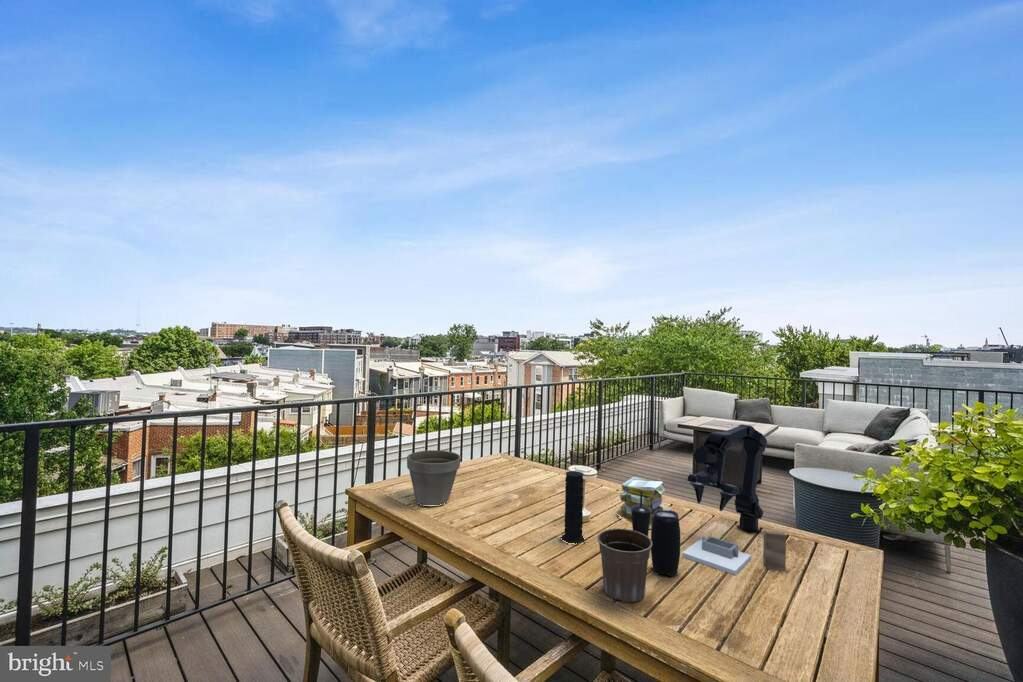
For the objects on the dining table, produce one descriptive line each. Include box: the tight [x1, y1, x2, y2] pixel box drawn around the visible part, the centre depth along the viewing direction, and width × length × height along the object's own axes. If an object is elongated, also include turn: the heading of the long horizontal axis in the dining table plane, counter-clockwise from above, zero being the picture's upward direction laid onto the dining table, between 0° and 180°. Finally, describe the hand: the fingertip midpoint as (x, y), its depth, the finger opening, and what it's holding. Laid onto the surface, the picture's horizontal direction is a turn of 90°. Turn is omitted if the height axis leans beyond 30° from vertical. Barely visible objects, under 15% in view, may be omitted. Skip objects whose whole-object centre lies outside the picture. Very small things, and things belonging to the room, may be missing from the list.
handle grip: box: [560, 470, 585, 544], centre depth 175 cm, size 10×26×10 cm
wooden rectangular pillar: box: [762, 529, 787, 572], centre depth 155 cm, size 4×6×12 cm, turn 76°
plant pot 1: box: [406, 449, 462, 505], centre depth 213 cm, size 25×25×22 cm
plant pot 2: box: [596, 528, 652, 603], centre depth 138 cm, size 16×16×16 cm
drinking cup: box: [631, 492, 652, 537], centre depth 172 cm, size 8×8×20 cm
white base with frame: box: [681, 535, 752, 576], centre depth 162 cm, size 16×18×4 cm
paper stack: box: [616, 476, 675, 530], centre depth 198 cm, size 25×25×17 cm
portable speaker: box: [650, 509, 681, 578], centre depth 152 cm, size 9×9×20 cm
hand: (709, 507), depth 173 cm, fingers open, 9 cm apart
